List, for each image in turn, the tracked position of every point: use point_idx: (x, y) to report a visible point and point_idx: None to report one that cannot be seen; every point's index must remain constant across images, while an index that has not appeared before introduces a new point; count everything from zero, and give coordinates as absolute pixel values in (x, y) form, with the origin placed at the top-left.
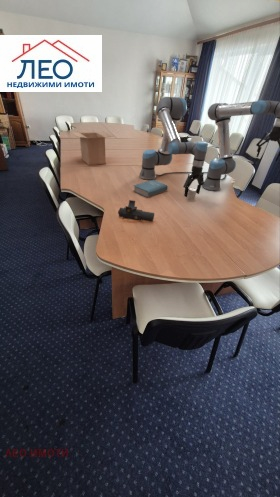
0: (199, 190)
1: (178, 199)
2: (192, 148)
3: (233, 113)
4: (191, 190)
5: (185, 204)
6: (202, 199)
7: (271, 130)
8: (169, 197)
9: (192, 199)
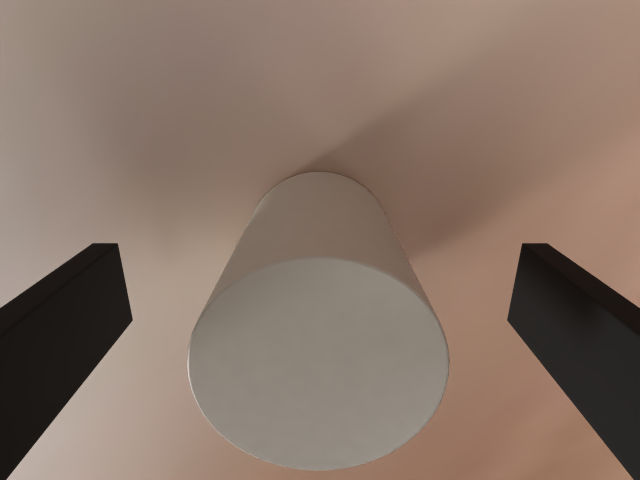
0: (50, 287)
1: (513, 337)
2: None
3: None
4: (438, 337)
5: (599, 124)
6: (82, 126)
7: None
8: (567, 441)
9: (350, 184)
